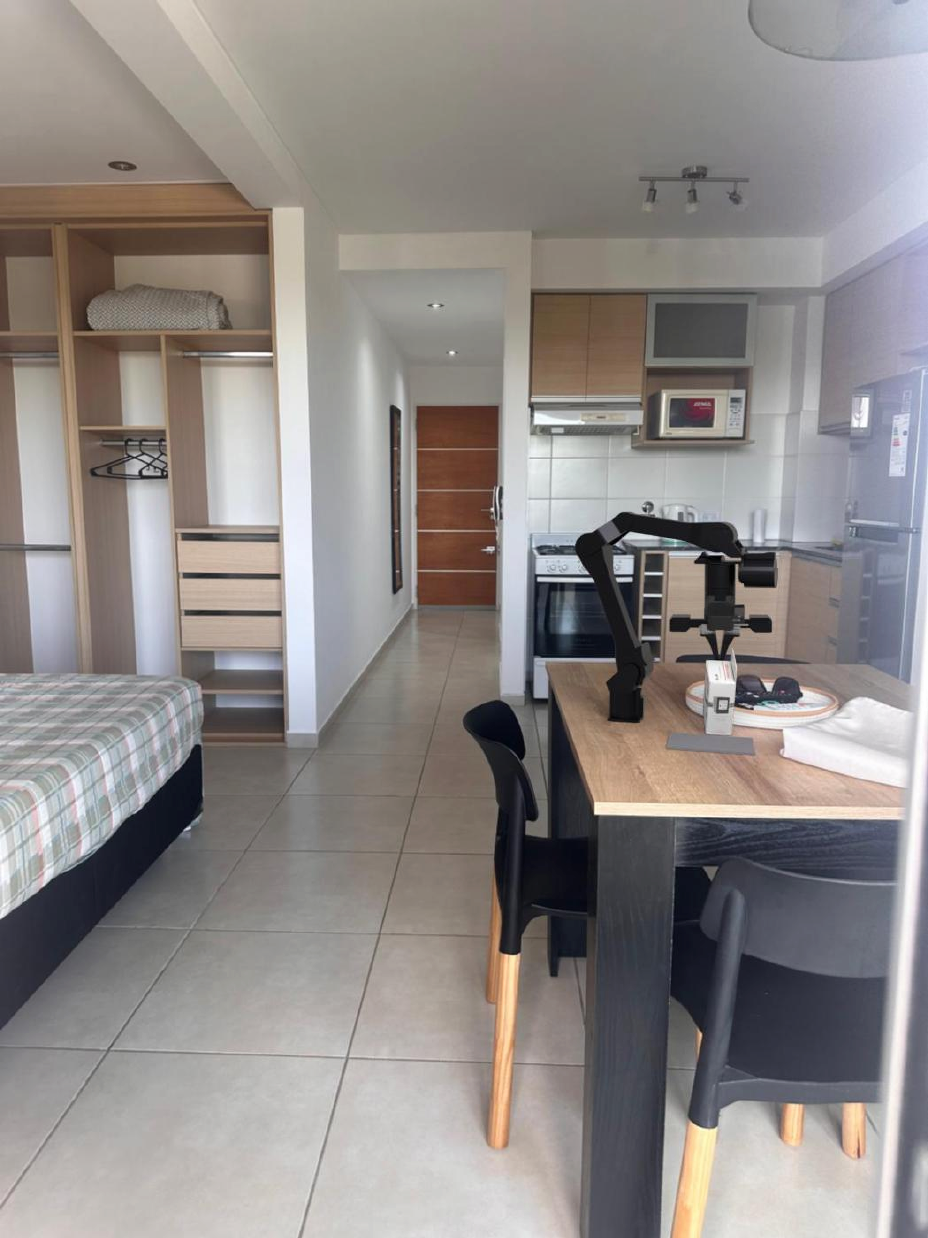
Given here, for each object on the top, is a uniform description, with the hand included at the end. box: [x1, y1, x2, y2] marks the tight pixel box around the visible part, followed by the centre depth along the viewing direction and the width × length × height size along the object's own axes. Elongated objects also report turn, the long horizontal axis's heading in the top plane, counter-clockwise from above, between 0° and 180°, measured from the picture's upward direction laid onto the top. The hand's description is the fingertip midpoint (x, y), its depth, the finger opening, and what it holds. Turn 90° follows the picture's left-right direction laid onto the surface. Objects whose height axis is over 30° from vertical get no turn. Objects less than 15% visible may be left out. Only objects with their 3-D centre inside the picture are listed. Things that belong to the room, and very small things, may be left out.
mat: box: [666, 731, 756, 756], centre depth 152 cm, size 15×10×1 cm, turn 73°
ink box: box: [702, 647, 738, 736], centre depth 159 cm, size 9×5×15 cm, turn 169°
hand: (719, 667), depth 162 cm, fingers closed
